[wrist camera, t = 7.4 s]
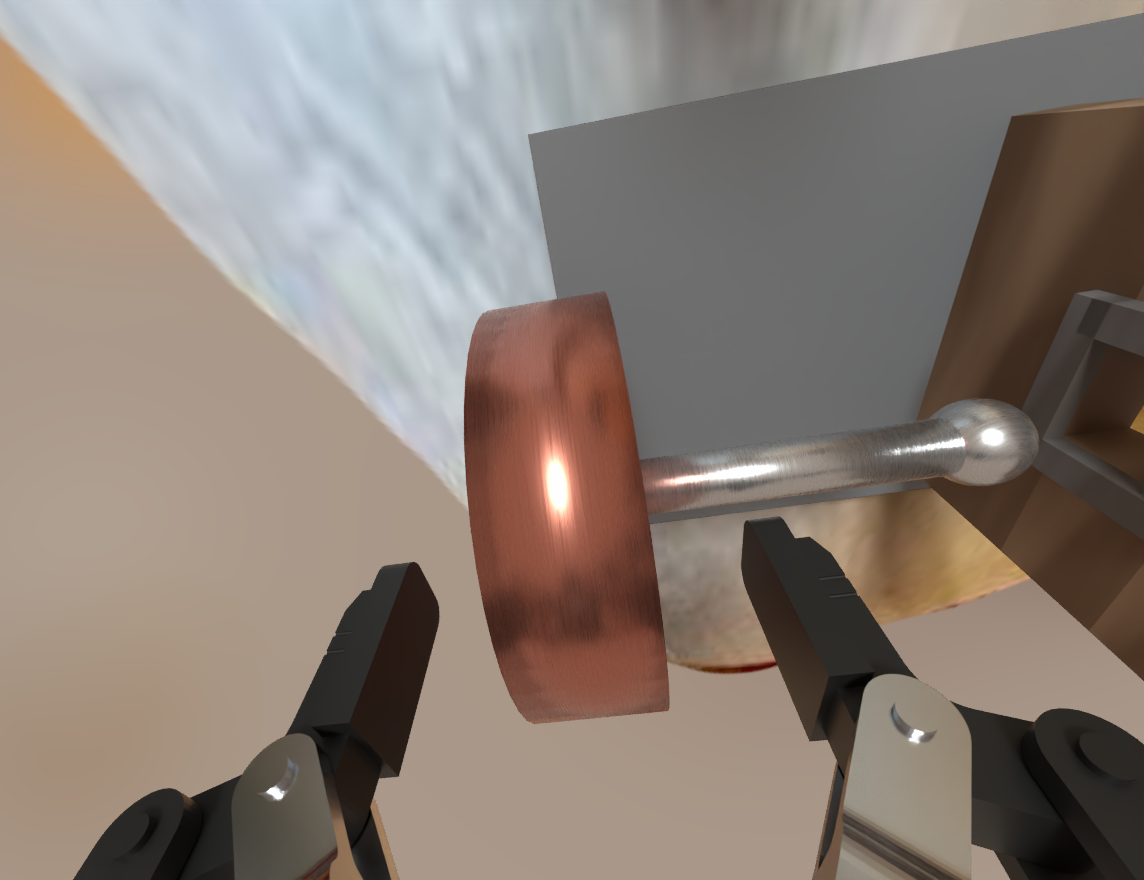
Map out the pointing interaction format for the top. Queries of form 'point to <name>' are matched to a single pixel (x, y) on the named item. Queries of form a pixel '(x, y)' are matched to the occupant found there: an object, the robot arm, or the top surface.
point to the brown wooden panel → (1061, 359)
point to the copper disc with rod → (637, 499)
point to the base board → (800, 236)
